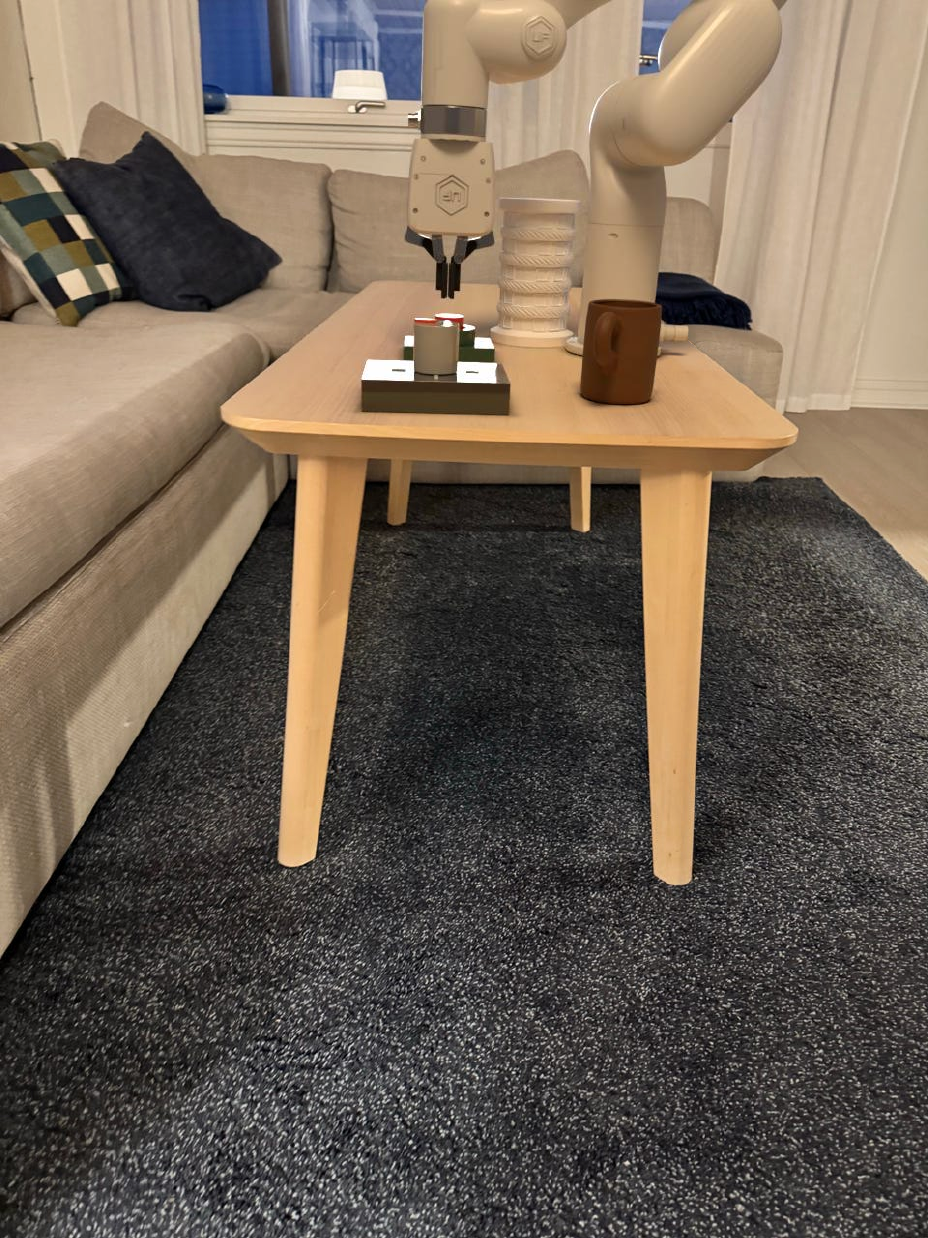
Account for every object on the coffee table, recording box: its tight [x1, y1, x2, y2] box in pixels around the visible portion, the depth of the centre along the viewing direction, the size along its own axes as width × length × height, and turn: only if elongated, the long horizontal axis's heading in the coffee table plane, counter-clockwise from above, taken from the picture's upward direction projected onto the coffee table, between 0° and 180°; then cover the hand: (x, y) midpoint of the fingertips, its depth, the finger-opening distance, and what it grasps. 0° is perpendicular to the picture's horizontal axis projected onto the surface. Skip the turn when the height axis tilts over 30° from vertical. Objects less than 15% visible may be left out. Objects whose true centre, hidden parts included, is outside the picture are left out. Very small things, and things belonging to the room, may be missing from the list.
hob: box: [360, 359, 512, 416], centre depth 90 cm, size 14×10×3 cm
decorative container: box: [489, 197, 583, 348], centre depth 123 cm, size 12×12×18 cm
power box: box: [403, 324, 496, 363], centre depth 113 cm, size 11×8×4 cm
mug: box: [579, 299, 663, 405], centre depth 91 cm, size 12×8×9 cm, turn 156°
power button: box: [434, 313, 465, 329], centre depth 112 cm, size 4×4×2 cm
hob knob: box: [412, 318, 459, 375], centre depth 88 cm, size 4×4×5 cm
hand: (447, 296), depth 111 cm, fingers closed
